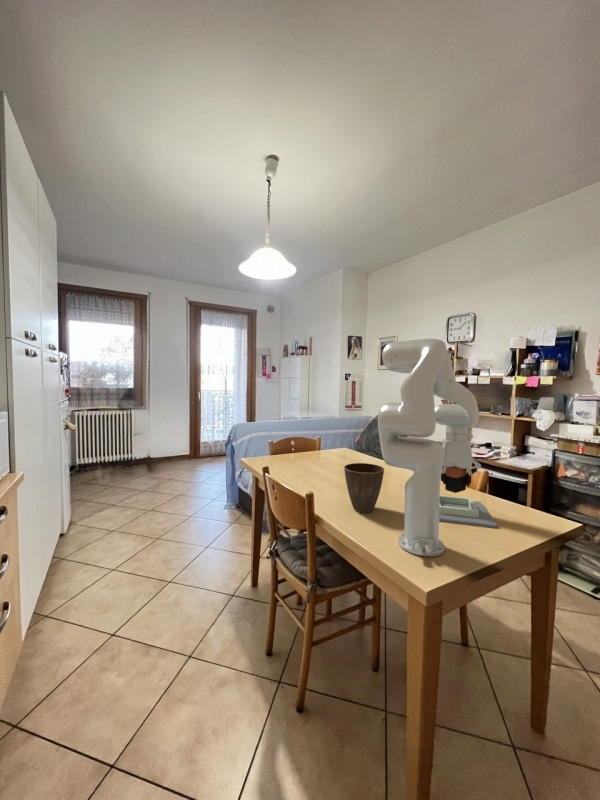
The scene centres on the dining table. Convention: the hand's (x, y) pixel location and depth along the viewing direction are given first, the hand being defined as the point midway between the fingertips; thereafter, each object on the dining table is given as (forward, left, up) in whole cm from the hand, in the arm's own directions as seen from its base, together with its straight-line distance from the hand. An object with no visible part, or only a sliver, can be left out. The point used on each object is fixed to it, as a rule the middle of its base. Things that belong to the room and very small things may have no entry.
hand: (455, 483), depth 118 cm
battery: (0, 0, -3) cm, 3 cm away
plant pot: (-8, +33, -11) cm, 36 cm away
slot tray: (0, 0, -10) cm, 10 cm away
